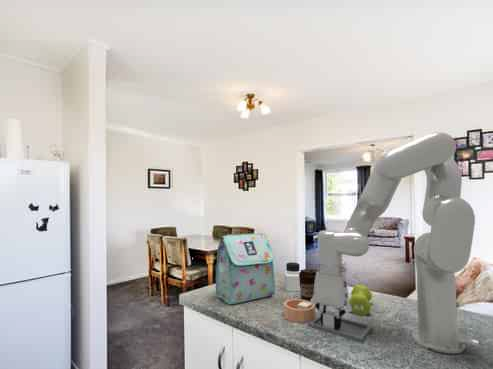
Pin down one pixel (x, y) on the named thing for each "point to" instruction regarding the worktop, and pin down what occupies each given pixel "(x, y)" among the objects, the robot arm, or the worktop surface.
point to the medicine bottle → (292, 277)
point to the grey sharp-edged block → (328, 319)
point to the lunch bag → (244, 268)
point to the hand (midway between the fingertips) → (330, 327)
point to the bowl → (298, 311)
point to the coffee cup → (307, 283)
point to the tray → (345, 329)
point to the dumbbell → (360, 300)
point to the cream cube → (304, 305)
